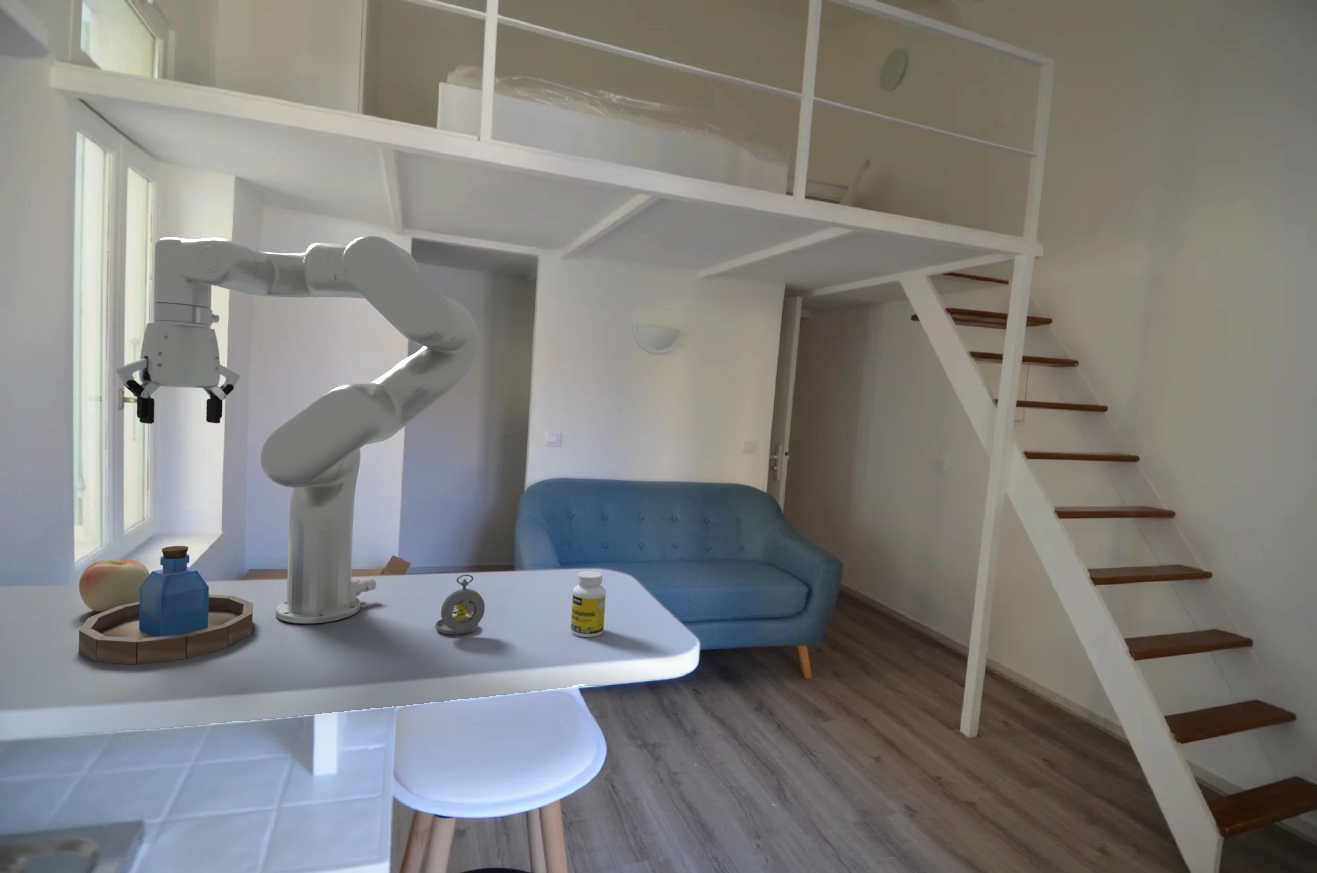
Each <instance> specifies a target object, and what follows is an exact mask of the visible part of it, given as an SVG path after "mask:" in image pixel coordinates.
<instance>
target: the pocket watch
mask: <svg viewBox="0 0 1317 873" xmlns="http://www.w3.org/2000/svg"><path fill="white" fill-rule="evenodd" d="M462 577H470V578H471V579H470V580H469V581H467V579H466V578H463V579H462V581H461V582H460V581H459V579H461V578H462ZM473 580H474V577H473V576H472V575H471V574H462V575H460V576H458V577H457V578H456V582H457V584H460V586H462V589H457V590H455V591H453V592H452V593H450V594H449V595H448V596H447V597H446V598H445V600H444V601H443V603H442V606H441V609H440V610H441V613H440V617H441V619H439V620H437V621H436V622H435V623H434V624H435V626H434V627H435V628H434V629H435V630H436V631H437V632H439V633H442V634H446V635H462V634H463V635H464V634H468V633H471V632H474V631H475V630H476V629H477V628H478V627H479V624H480V622H481V621H482V619H483V618H484V615H485V614H484V613H485V609H486V607H485V601H484V599H483V597H482V595H481V594H480V593H479V592H478V591H476V590H474V589H471V588H467V586H468V585H469V584H470V583H472V582H473ZM453 614H454V616H453Z"/></svg>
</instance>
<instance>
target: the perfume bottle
mask: <svg viewBox="0 0 1317 873" xmlns="http://www.w3.org/2000/svg"><path fill="white" fill-rule="evenodd" d="M188 550H189V546H187V545H172V546H166V547H163V548H161V553H162V555H161V556H160V557H159V558H160V559H159V560H160V561H159V562H160V563H159V564H160V565H161V566H162V569H157V570H155V569H154V570H152V571H151V572H149V574H150V575H149V576H148V577H147V579H146V580H145V581H144V583H143V584H142V585H141V587H140V593H139V630H140V631H143V632H145V633H147V634H149V635H151V636H153V637H162V636H171V635H181V634H185V633H189V632H193V631H197V630H201V629H205V628H208V602H209V595H210V591H209V589H210V588H209V585H208V584H207V582H206V581H205V580H204V578H203V577H202V575H201V574H200V573H199V571H198V570H197V569H194V568H191V567H188V564H189V563H190V554H188Z"/></svg>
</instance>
